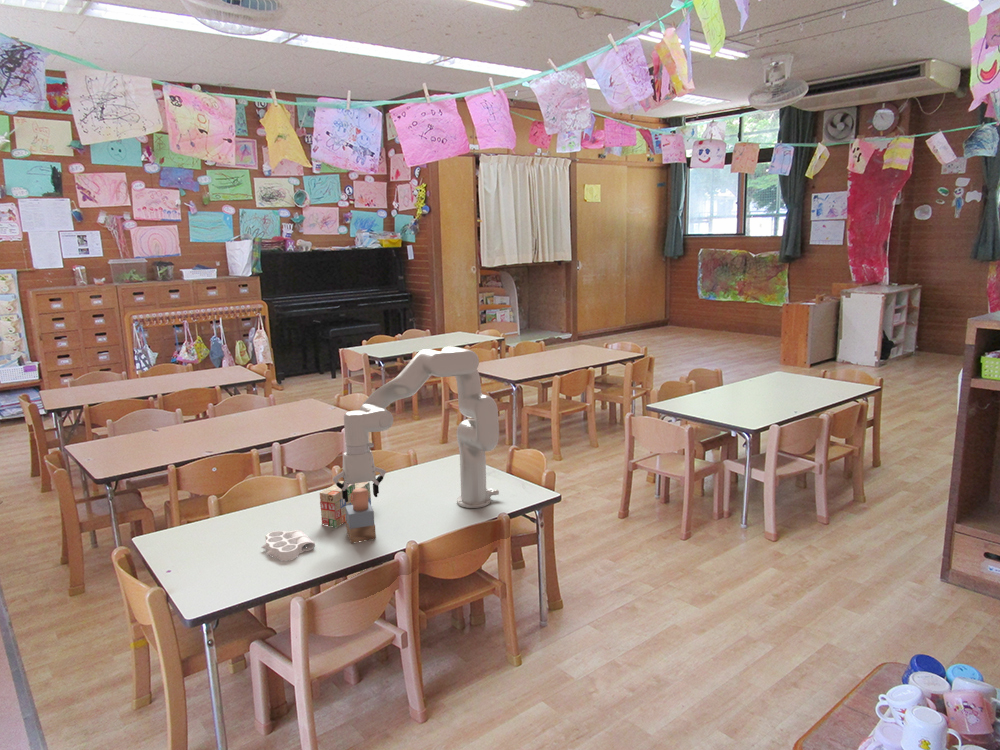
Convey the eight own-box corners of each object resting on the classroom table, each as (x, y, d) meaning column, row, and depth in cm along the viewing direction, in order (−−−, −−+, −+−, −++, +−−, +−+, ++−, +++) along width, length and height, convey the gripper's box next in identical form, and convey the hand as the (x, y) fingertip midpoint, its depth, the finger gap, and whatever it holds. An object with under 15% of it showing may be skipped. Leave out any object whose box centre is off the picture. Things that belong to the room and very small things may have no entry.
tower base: (370, 529, 237) (369, 516, 236) (375, 539, 230) (375, 525, 229) (347, 534, 234) (346, 520, 233) (351, 543, 227) (350, 529, 226)
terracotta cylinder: (366, 504, 234) (365, 487, 232) (369, 509, 229) (369, 492, 228) (351, 506, 232) (350, 489, 231) (354, 512, 227) (353, 494, 226)
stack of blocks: (357, 503, 261) (355, 472, 258) (371, 505, 258) (369, 474, 256) (321, 525, 242) (319, 492, 239) (336, 528, 239) (334, 494, 237)
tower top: (369, 516, 236) (369, 502, 235) (374, 525, 229) (373, 510, 228) (346, 519, 234) (345, 505, 233) (349, 529, 226) (348, 514, 225)
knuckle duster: (318, 553, 221) (272, 566, 213) (299, 534, 236) (255, 545, 228) (318, 543, 221) (271, 556, 212) (299, 524, 235) (255, 535, 227)
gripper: (381, 441, 233) (384, 490, 236) (328, 449, 226) (332, 498, 230) (386, 448, 226) (389, 497, 230) (332, 455, 220) (336, 506, 223)
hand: (360, 498), depth 230 cm, fingers open, 9 cm apart
